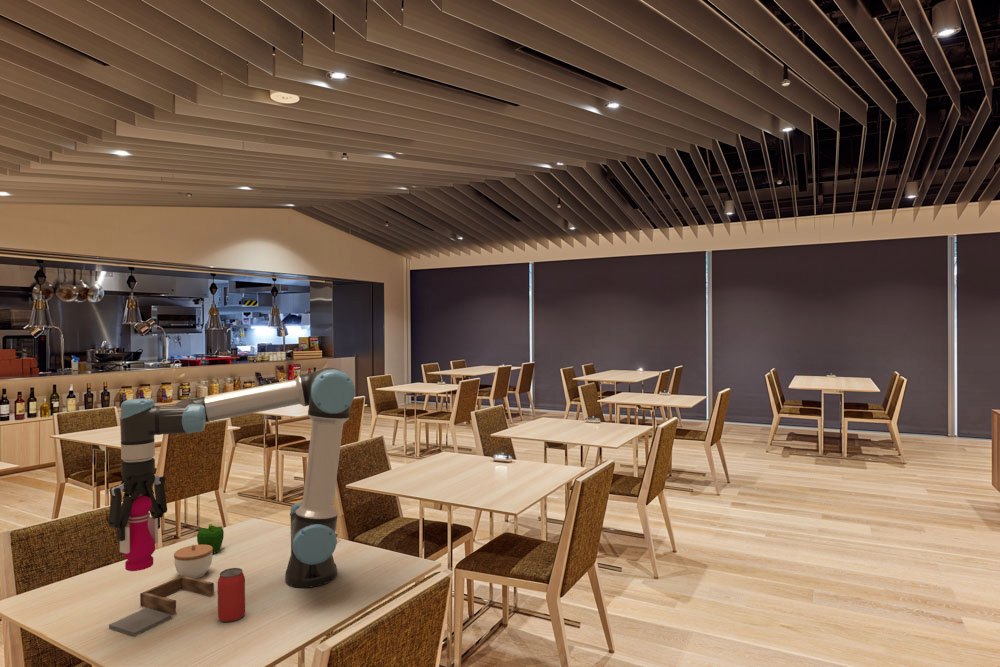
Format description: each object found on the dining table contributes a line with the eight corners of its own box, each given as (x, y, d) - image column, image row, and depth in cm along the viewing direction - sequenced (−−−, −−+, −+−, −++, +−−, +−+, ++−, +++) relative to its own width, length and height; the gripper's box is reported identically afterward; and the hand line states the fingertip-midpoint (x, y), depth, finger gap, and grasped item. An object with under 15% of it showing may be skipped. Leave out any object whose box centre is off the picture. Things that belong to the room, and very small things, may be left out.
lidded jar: (220, 568, 191) (219, 539, 191) (199, 583, 180) (199, 552, 180) (188, 567, 192) (187, 538, 192) (166, 582, 181) (166, 551, 181)
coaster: (171, 618, 158) (171, 614, 158) (134, 636, 149) (134, 632, 149) (146, 611, 163) (146, 607, 162) (109, 628, 153) (109, 624, 153)
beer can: (228, 625, 154) (227, 579, 154) (212, 619, 158) (212, 573, 158) (250, 614, 160) (249, 570, 160) (235, 608, 164) (234, 565, 163)
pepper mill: (162, 563, 158) (160, 487, 158) (137, 573, 151) (136, 494, 151) (141, 559, 160) (140, 485, 160) (116, 570, 154) (115, 492, 153)
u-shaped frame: (213, 595, 172) (213, 582, 172) (172, 615, 160) (172, 601, 160) (182, 587, 178) (182, 575, 178) (140, 606, 166) (140, 593, 166)
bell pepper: (200, 548, 209) (199, 520, 209) (225, 546, 211) (225, 518, 211) (194, 557, 201) (193, 527, 201) (220, 555, 203) (220, 525, 203)
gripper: (163, 450, 166) (164, 533, 166) (89, 465, 148) (90, 558, 148) (182, 452, 163) (183, 536, 163) (108, 468, 145) (110, 563, 145)
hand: (139, 547), depth 156 cm, fingers closed on pepper mill, 7 cm apart
